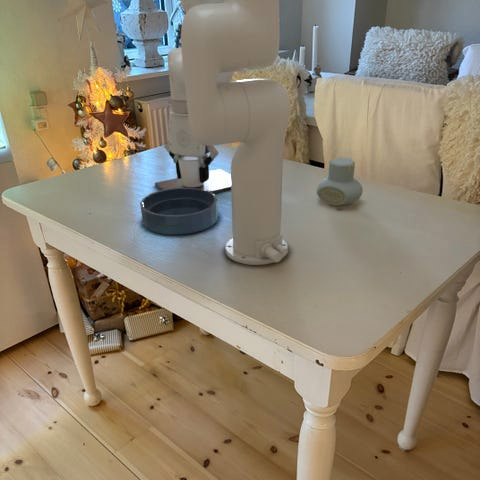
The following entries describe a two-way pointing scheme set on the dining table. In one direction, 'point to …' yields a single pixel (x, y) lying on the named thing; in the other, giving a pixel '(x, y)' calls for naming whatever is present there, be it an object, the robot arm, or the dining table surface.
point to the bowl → (179, 210)
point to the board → (214, 184)
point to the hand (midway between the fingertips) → (192, 178)
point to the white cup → (190, 171)
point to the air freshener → (340, 184)
